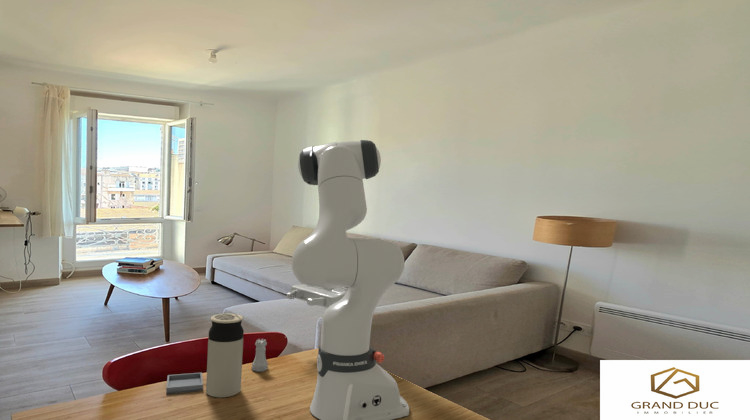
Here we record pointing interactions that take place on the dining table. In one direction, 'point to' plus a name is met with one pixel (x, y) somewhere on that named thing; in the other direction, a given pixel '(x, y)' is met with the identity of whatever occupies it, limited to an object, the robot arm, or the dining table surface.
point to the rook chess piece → (260, 357)
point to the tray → (184, 383)
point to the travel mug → (224, 355)
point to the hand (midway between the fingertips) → (298, 299)
